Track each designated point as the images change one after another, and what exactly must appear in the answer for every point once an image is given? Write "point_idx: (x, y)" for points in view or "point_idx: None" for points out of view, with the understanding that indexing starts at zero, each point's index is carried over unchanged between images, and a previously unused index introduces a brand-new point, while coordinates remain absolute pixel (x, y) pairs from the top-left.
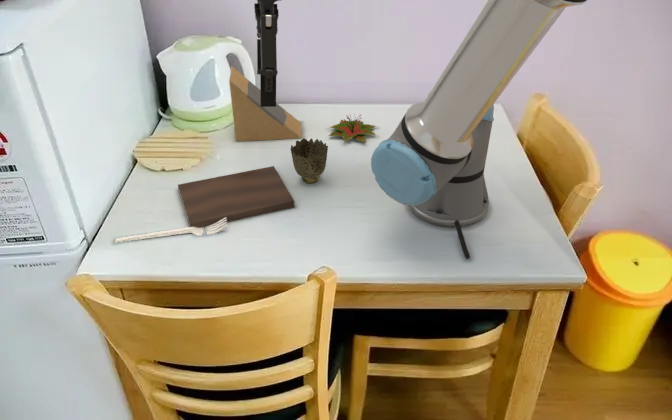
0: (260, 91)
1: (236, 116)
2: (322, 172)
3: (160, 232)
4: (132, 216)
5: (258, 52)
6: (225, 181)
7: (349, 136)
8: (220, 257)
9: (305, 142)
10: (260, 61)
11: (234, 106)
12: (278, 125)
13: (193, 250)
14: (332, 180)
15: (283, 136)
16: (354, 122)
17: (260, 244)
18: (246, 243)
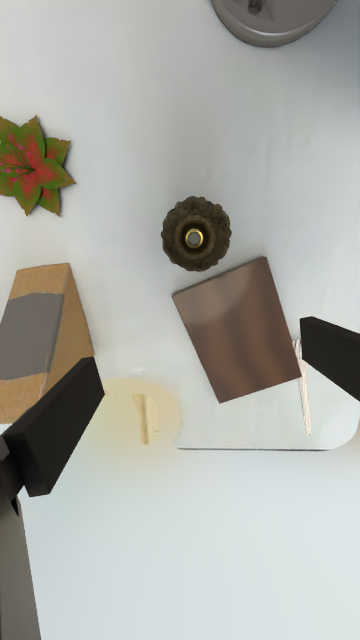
0: (330, 379)
1: None
2: (205, 215)
3: (306, 399)
4: (265, 429)
5: (75, 440)
6: (213, 353)
7: (55, 173)
8: None
9: (166, 246)
10: (88, 408)
11: None
12: (66, 302)
13: None
14: None
15: (74, 291)
16: (18, 157)
17: (339, 291)
18: (334, 308)
